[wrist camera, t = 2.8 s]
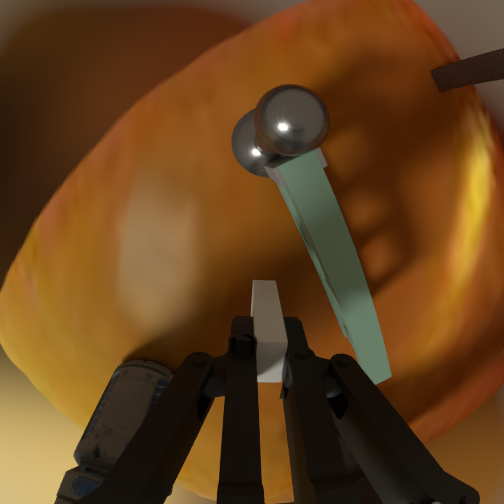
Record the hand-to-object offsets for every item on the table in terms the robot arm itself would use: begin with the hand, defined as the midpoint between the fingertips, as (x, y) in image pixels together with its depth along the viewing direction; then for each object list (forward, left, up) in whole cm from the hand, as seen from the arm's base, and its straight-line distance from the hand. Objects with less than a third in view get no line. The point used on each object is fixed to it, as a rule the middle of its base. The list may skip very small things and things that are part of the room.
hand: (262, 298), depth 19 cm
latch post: (+9, -26, -7) cm, 29 cm away
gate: (-1, -5, -6) cm, 8 cm away
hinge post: (+9, -5, -7) cm, 13 cm away
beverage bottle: (-9, +19, -7) cm, 22 cm away
